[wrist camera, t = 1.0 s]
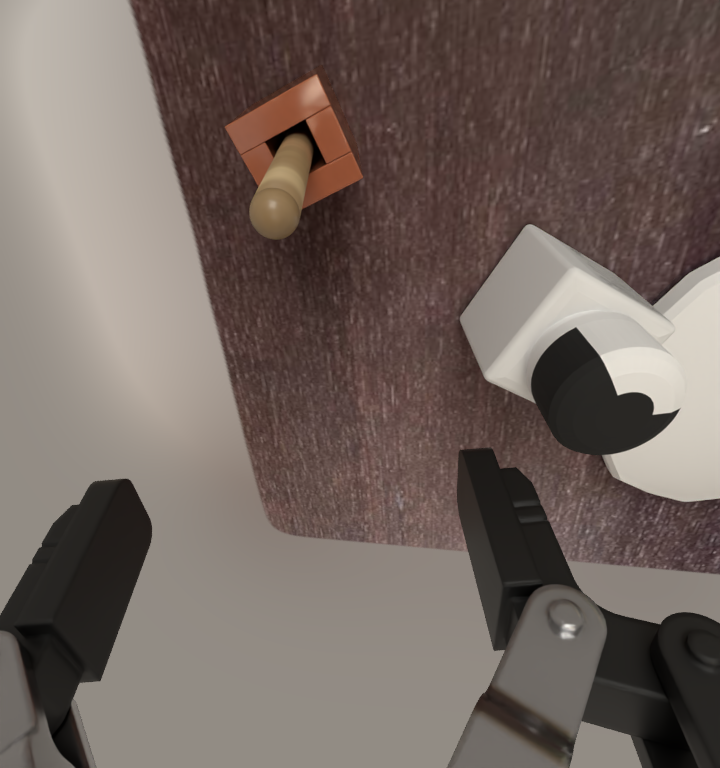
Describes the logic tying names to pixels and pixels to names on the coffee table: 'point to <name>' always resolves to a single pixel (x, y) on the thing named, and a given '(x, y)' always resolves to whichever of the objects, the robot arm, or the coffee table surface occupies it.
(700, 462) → the decorative plate
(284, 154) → the cooking stick
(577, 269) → the container
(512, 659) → the robot arm
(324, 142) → the utensil block
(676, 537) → the coffee table surface
